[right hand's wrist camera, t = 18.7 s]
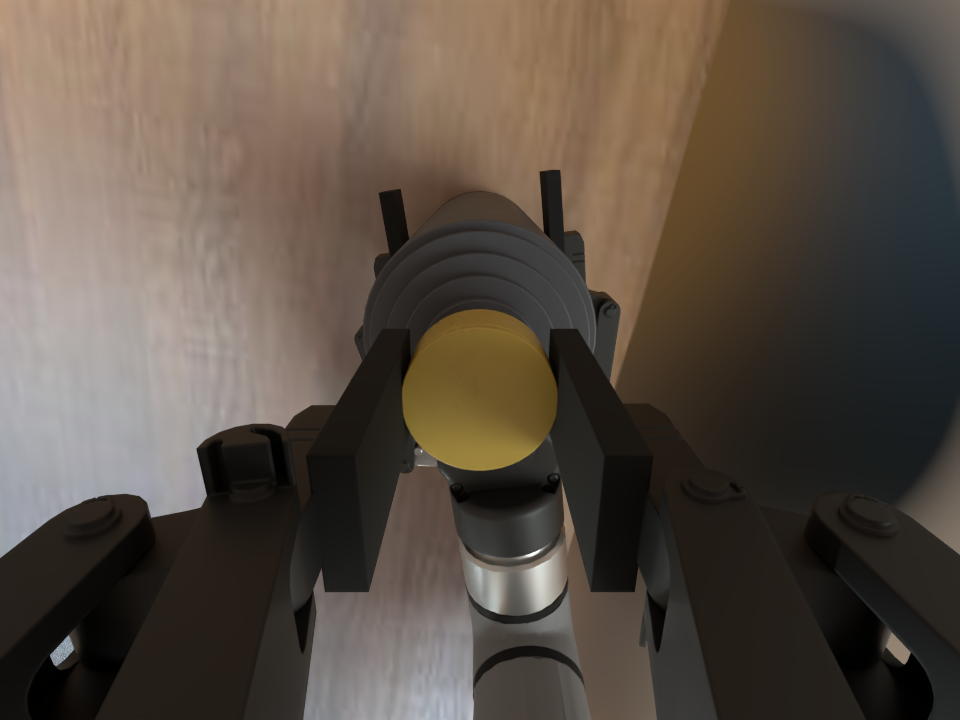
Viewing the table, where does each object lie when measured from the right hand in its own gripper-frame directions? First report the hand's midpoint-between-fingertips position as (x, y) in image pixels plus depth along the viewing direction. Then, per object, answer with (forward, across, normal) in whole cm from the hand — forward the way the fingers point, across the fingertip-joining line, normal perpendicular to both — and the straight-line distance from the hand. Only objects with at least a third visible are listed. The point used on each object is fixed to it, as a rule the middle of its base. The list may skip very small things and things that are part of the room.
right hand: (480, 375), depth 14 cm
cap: (-2, 0, 0) cm, 2 cm away
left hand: (+16, +1, -5) cm, 17 cm away
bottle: (+22, 0, 0) cm, 22 cm away
